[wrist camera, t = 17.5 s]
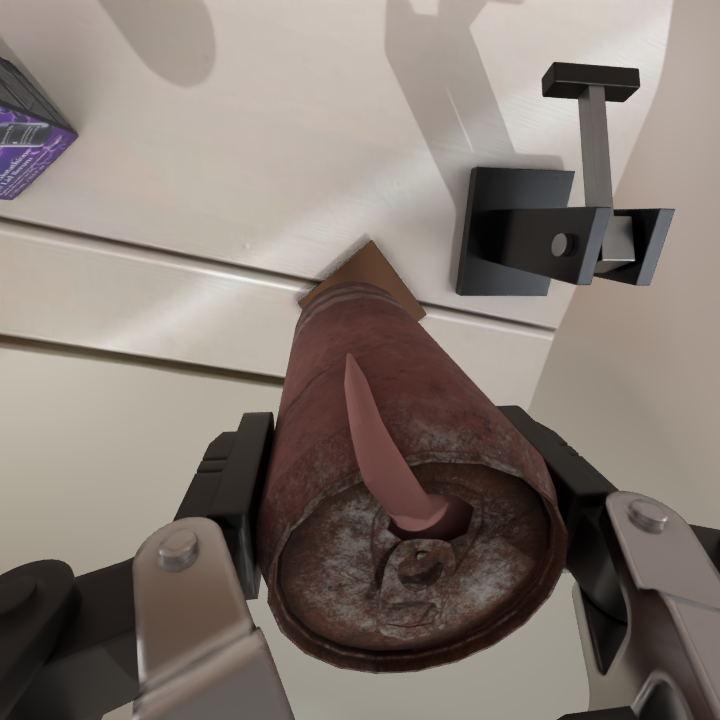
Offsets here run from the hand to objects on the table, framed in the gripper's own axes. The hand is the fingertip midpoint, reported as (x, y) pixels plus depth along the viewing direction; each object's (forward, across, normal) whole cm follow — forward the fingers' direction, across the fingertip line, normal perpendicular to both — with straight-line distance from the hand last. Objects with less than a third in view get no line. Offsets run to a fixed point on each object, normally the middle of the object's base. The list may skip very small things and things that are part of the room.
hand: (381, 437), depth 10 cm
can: (+10, 0, 0) cm, 10 cm away
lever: (+17, -16, -9) cm, 25 cm away
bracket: (+25, -16, -5) cm, 30 cm away
